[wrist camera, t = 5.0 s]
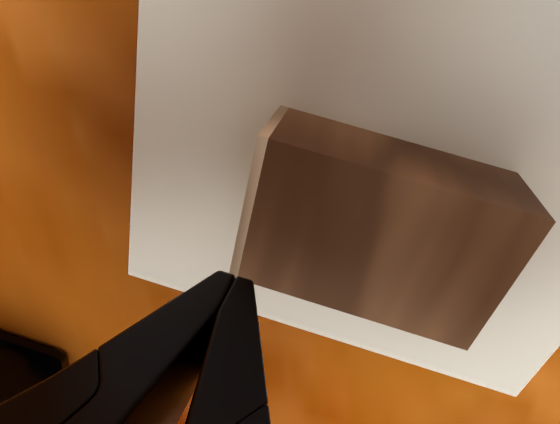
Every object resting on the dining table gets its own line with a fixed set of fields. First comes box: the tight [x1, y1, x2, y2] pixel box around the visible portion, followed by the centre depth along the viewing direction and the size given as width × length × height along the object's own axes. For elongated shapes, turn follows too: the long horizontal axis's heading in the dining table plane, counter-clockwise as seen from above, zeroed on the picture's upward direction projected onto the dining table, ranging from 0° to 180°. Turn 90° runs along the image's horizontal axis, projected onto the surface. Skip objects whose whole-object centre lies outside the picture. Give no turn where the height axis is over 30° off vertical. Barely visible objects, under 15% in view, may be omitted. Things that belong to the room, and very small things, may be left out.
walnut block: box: [229, 105, 556, 351], centre depth 13 cm, size 3×5×8 cm
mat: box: [128, 0, 560, 397], centre depth 14 cm, size 18×18×1 cm
